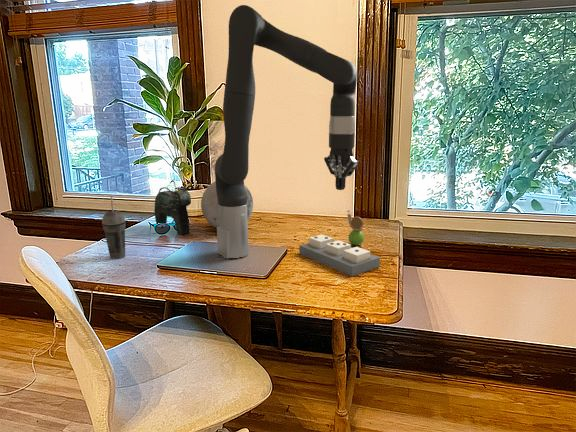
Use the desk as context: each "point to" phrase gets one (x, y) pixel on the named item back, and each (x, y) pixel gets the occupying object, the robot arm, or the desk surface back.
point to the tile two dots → (320, 241)
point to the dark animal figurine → (173, 208)
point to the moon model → (211, 204)
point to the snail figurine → (355, 230)
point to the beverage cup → (115, 232)
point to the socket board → (339, 260)
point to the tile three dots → (337, 247)
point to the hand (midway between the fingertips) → (340, 189)
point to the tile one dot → (356, 254)
